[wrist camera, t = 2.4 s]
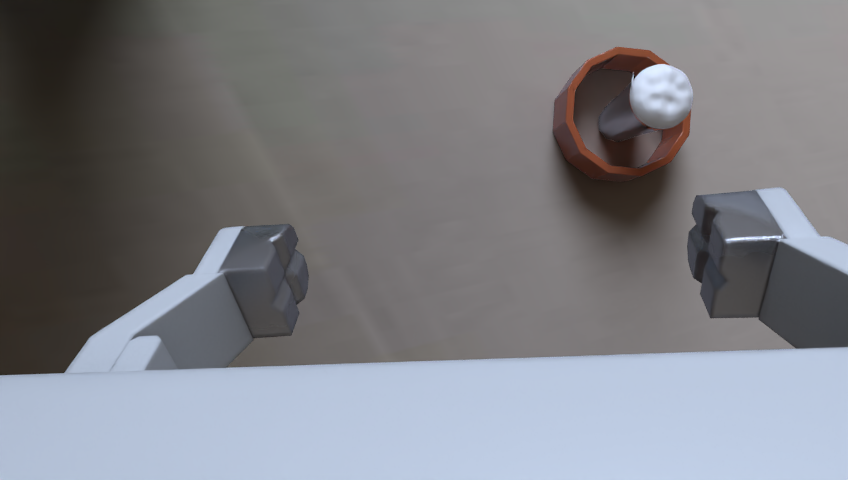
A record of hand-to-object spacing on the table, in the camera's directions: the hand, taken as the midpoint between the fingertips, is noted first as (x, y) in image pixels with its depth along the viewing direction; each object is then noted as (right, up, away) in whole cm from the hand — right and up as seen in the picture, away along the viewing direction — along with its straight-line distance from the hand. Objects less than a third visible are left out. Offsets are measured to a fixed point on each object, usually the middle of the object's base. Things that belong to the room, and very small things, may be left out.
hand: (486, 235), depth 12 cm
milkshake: (+15, +10, +38) cm, 42 cm away
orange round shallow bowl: (+15, +10, +38) cm, 42 cm away
